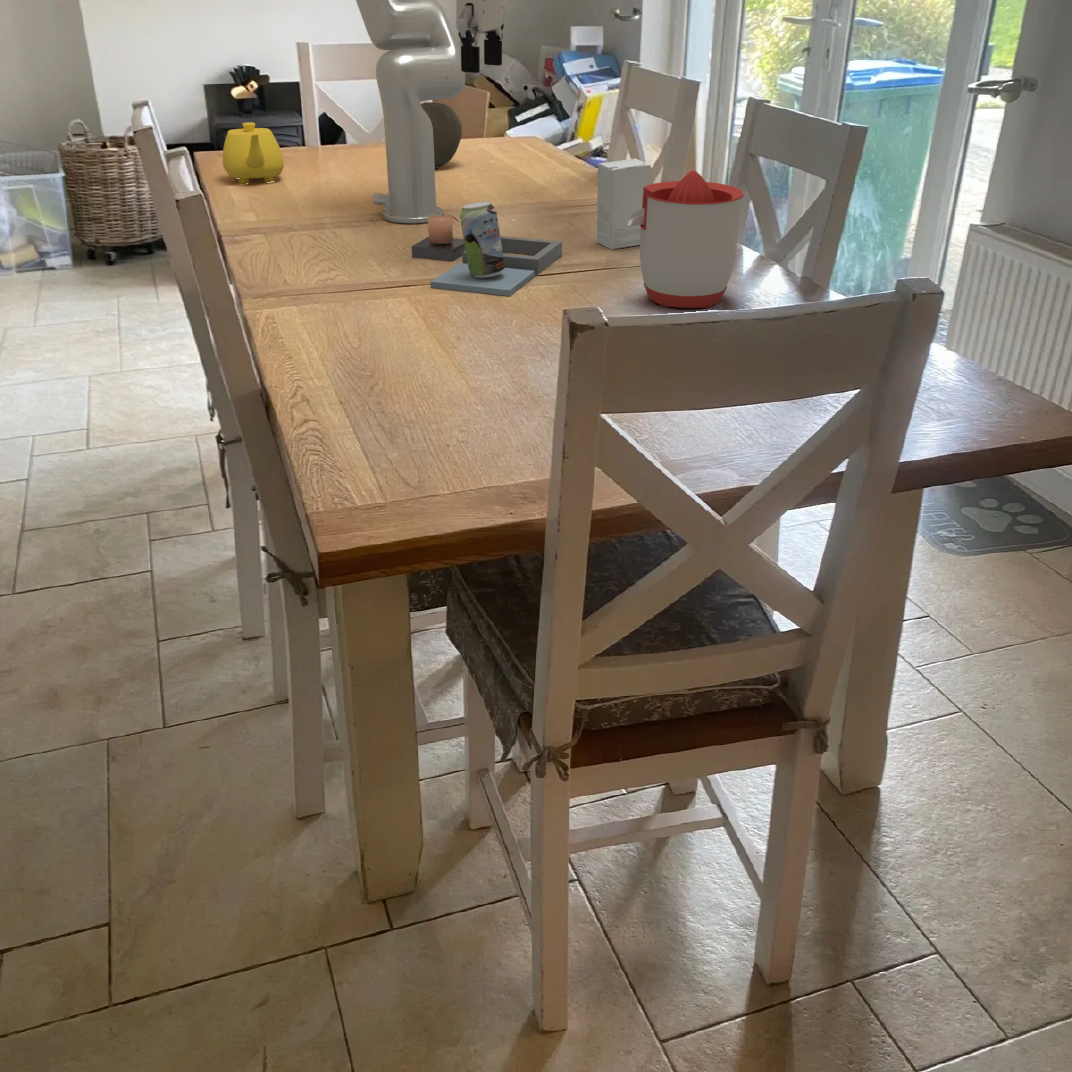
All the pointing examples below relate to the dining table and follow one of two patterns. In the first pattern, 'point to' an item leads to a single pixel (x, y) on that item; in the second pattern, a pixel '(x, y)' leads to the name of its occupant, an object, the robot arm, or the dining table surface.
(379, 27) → the robot arm
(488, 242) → the beverage can
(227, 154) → the teapot
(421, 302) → the dining table surface
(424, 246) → the button base
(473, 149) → the dining table surface
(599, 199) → the skincare box
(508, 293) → the mat
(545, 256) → the frame
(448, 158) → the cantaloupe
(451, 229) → the button
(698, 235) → the citrus juicer
